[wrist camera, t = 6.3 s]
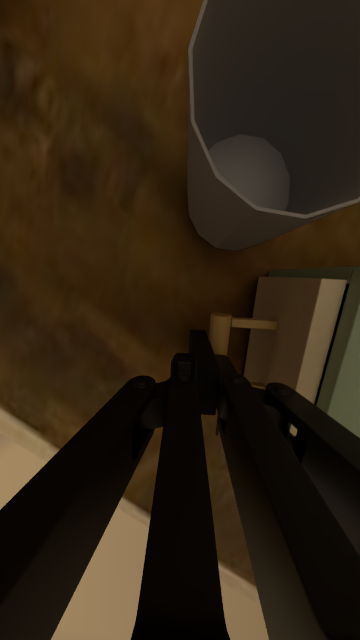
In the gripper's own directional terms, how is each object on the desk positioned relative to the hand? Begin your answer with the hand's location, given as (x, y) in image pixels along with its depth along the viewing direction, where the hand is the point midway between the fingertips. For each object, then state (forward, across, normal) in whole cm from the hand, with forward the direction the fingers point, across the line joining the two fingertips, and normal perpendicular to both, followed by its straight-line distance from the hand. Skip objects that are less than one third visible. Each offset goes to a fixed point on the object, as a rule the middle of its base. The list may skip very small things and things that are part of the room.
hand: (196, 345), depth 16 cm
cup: (+3, +3, +12) cm, 13 cm away
